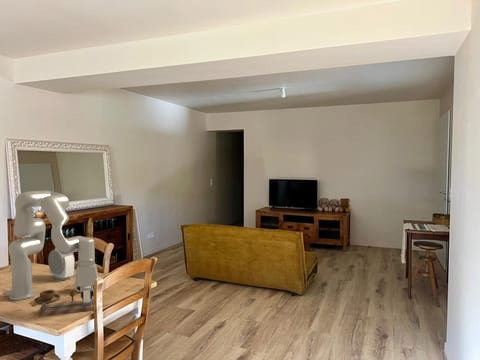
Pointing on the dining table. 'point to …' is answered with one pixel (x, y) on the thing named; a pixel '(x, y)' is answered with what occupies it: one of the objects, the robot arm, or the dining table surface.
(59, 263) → the alarm clock
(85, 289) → the fader knob
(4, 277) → the dining table surface
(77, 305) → the fader panel
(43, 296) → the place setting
